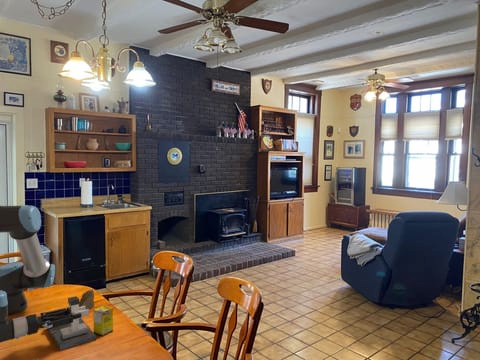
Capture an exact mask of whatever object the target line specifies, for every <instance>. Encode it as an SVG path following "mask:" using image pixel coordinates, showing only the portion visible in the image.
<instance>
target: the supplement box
mask: <svg viewBox="0 0 480 360" xmlns="http://www.w3.org/2000/svg"><path fill="white" fill-rule="evenodd" d="M113 309H114V308H113V307H111V306H107V305H101V306H99V307H97V308H94V309H93V310H92V311H93V333H94V334H95V335H97V336H101V337H104V336H107V335H108V334H110V333H113V332H114V311H113Z"/></svg>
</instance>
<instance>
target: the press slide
mask: <svg viewBox="0 0 480 360" xmlns="http://www.w3.org/2000/svg"><path fill="white" fill-rule="evenodd" d="M79 302H80V298H79V297H78V296H71V297H67V303H68V308H69V315H71V314H72V313H75V312H79ZM85 323H86V322H85ZM85 323H82V324H79V319H75V320H73V323H70V324H69V327H67V328H63V329H60V336H61V337H62V339H67V338H70V337H74V336H77V335H81V334H84V333H88V327H89V326H88V324H87V323H86V324H87V325H86V324H85ZM87 326H88V327H87Z"/></svg>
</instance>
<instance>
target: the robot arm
mask: <svg viewBox="0 0 480 360" xmlns="http://www.w3.org/2000/svg"><path fill="white" fill-rule="evenodd" d="M41 218H42V215H41V213H40V210H39V208H38V207H36V206H34V205H27V204H23V205H0V233H8V234H9V236H10V238H11V239H13V240H15V241H16V244H17V247H18V250H19V253H20V255H21V258H22V261H23V262H22V261H16V262H9V263H7V264H3V265H1V266H0V343H4V342H8V341H12V340H18V339H19V338H22V337H26V335H27V336H31V335H35V334H37V333H38V332H39V330H40V329H46V330H47V331H48V330H50V329H52V328H55V327H59V326H62V325H66V324H70V323H73V320H75V319H79V318H82V319H83V318H86V317H90V309H87V310H86V306H81V307H79V312H75V313H72V314H71V315H69V306H67V307H64V308H59V309H55V310H50V311H47V312H46V311H45V312H40V315H39V316H38V315H37V314H36V313H33V314H29V315H28V314H27V315H26V316H19V317H15V318H12V319H11V318H10V319H8V318H9V317H8V316H11V315H14V314H18V313H21V312H23V311H25V310H26V309H27V308H28V307H29V305H28V300H27V298H26V295H25V293H24V290H25V289H27V290H28V289H45V288H50V287H52V286H53V284H54V283H53V282H54V280H55V275H56V265H55V264H54V263H50V261H48V260H47V259H46V258H45V257H44V254H43V250H42V247H41V244H40V240H39V237H38V235H37V234H38V232H39V230H40V229H41V225H42V219H41Z"/></svg>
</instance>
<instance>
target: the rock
mask: <svg viewBox="0 0 480 360" xmlns="http://www.w3.org/2000/svg"><path fill="white" fill-rule="evenodd" d="M81 306H86V310H87V309H89V310H90V309H92V308H94V307H95V293H94V290H93V289H89V290H87V291H85V292H83V293H82V295H81V298H80V299H79V307H81Z"/></svg>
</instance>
